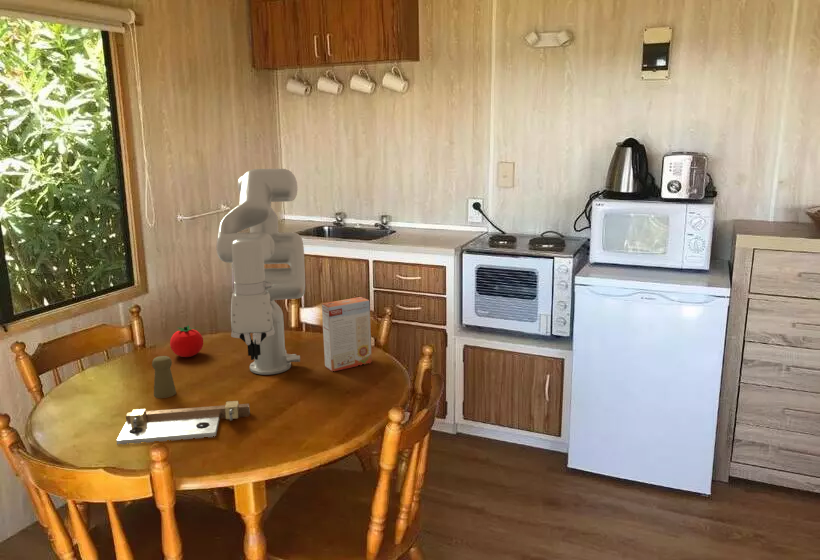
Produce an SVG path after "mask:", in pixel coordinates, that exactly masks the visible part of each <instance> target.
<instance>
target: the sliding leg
mask: <svg viewBox="0 0 820 560" xmlns="http://www.w3.org/2000/svg"><path fill="white" fill-rule="evenodd" d="M239 404H240V403H239V400H232V401H231V400H229V401H225V405H226V406H225V413H226V418H225V419H226V420H229V421H233V419H239V417H238V416H239Z"/></svg>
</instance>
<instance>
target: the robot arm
mask: <svg viewBox="0 0 820 560" xmlns="http://www.w3.org/2000/svg"><path fill="white" fill-rule="evenodd" d="M237 189H238V194H239V201H238V202H239V203H238V205H237V206H236V207H234V208H233V209H231V210H230V211H229V212H228V213H227V214H225V216H223V218H222V219H221V221H220V223H219V225H218V232H217V237H216V255H217V257H218V258H219V260H220V261H221V262H224V263H230V264H231V263H232V271H233V272H232V273H233V285H234V287H233V288H234V289H233V290H234V292H232V293H231V302H230V326H231V334H230V337H231V338H236V339H241V341H243V342H244V343H245V344H246V345H247V356H248V357H250V360H251V361H253V362H251V363H250V364H249V371H250V372H251V373H253V374H257V375H264V376H270V375H278V374H281V373H284V372H286V371H288V370H290V369H291V367H292V363H293V362H294V363H300V362H301V355H297V353H292V354H291V353H287V349H286V346H285V345H286V344H285V323H284V313H283V310H282V308H281V307H280V305H279V304H278V303H277V302H276V301H280V300H297V299H301V298H302V297H304V295H305V293H306V271H305V267H306V265H305V247H304V242H303V239H302V236H301V235H300V234H298V233H297V232H292V231H290V232H287V231H285V232H279V218H278V214H277V213H276V212H275V211H274V209H273V208H272V202H273V203H275V202H277V203H278V202H287V203H288V202H293V201H294V200H295V199H296V197H297V195H298V182H297V178H296V176H295V175H294V173H293V172H292V171H291V170H289V169H287V168H256V169H255V168H254V169H251V170H250V169H249V170H248V171H246V172H245V173H244V174H243V175H241V176H240V177H239V178H238V181H237ZM246 229H249V232H242V231H244V230H246ZM278 264H279V265H280V264H281V265H282V264H283V265H288V266H289V267H279V268H278V267H272V268H271V267H269V268H268V267H267V268H265V265H278ZM251 334H252V336H251Z"/></svg>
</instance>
